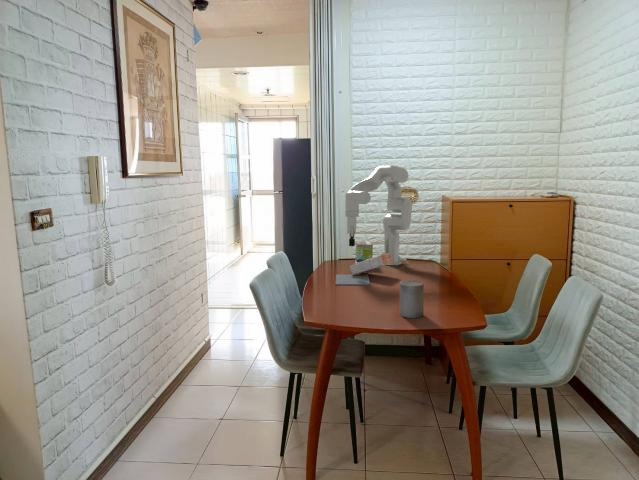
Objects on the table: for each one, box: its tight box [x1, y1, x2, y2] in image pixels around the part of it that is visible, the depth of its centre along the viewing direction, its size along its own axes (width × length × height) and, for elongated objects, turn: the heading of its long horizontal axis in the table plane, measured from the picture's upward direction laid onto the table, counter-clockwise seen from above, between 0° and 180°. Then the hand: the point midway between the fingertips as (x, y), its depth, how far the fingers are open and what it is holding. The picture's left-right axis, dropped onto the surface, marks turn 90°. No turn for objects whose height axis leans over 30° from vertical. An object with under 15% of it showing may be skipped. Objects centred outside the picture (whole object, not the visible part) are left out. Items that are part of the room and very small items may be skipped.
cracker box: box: [348, 253, 393, 275], centre depth 264 cm, size 14×6×21 cm
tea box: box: [354, 240, 374, 264], centre depth 294 cm, size 15×10×15 cm
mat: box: [335, 273, 371, 286], centre depth 256 cm, size 18×23×1 cm
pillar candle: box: [399, 279, 425, 319], centre depth 193 cm, size 10×10×15 cm
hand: (351, 245), depth 266 cm, fingers closed
